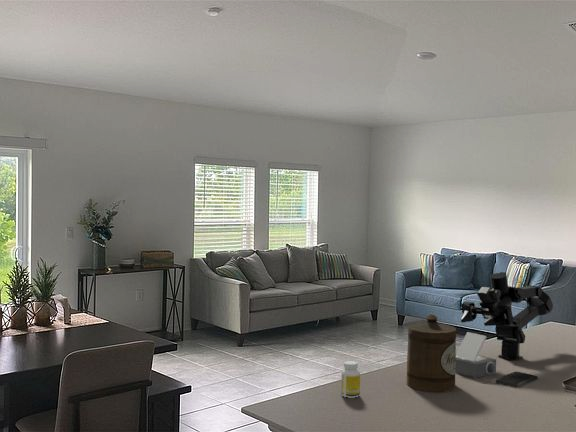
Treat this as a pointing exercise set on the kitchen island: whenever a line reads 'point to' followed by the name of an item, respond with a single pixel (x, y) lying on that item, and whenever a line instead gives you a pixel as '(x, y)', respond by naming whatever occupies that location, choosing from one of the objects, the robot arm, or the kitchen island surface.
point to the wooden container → (431, 356)
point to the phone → (516, 379)
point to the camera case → (476, 367)
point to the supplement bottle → (350, 380)
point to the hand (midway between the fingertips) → (472, 322)
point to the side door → (470, 347)
